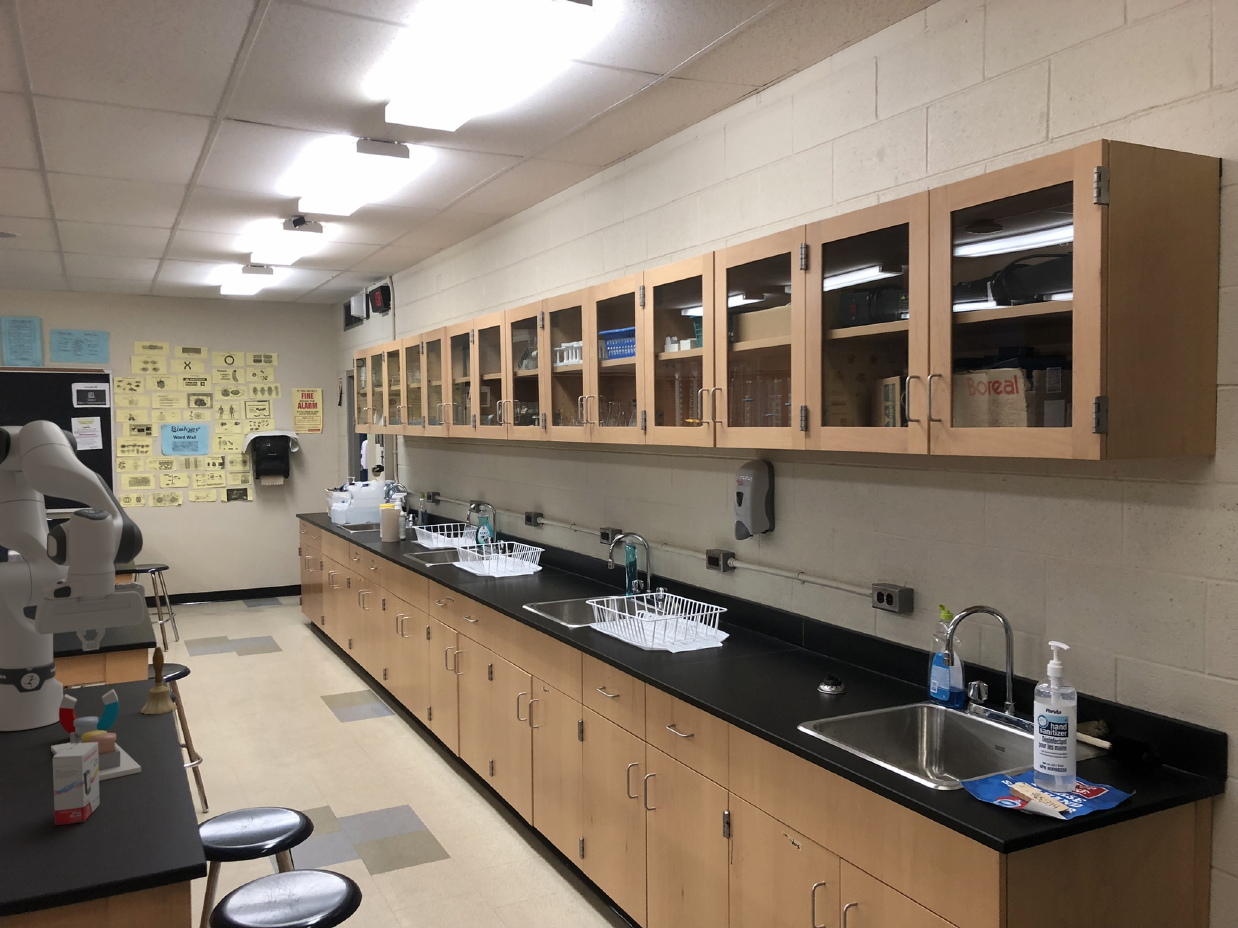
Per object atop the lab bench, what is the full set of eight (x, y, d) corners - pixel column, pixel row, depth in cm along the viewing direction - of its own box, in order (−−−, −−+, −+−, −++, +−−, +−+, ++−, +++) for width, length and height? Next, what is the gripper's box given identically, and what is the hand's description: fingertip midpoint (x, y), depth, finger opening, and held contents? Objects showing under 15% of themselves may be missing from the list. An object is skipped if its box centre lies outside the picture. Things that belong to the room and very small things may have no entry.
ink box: (84, 823, 156) (83, 755, 156) (51, 826, 155) (51, 757, 155) (100, 805, 165) (100, 740, 165) (70, 807, 164) (69, 742, 163)
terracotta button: (88, 757, 183) (87, 735, 183) (113, 752, 186) (113, 731, 186) (93, 763, 180) (93, 740, 180) (118, 758, 183) (118, 736, 183)
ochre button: (79, 754, 189) (79, 733, 189) (104, 749, 192) (104, 728, 192) (84, 760, 186) (84, 738, 186) (109, 755, 189) (109, 733, 189)
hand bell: (166, 714, 223) (166, 650, 223) (133, 714, 224) (133, 650, 224) (183, 705, 232) (183, 643, 232) (151, 705, 232) (151, 643, 232)
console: (51, 750, 196) (51, 732, 196) (108, 739, 203) (107, 722, 203) (78, 784, 175) (78, 764, 175) (141, 771, 182) (141, 752, 182)
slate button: (71, 739, 195) (71, 719, 195) (95, 735, 198) (95, 715, 198) (76, 744, 192) (76, 723, 192) (100, 740, 195) (100, 719, 195)
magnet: (118, 731, 210) (118, 688, 210) (118, 734, 208) (118, 690, 207) (59, 738, 204) (59, 694, 204) (58, 741, 202) (58, 697, 202)
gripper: (141, 579, 202) (140, 640, 202) (33, 587, 189) (32, 653, 189) (148, 583, 197) (147, 646, 198) (38, 592, 184) (38, 659, 184)
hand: (90, 649), depth 193 cm, fingers closed
